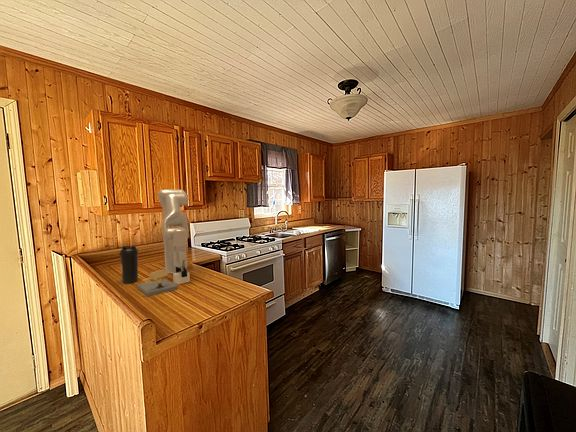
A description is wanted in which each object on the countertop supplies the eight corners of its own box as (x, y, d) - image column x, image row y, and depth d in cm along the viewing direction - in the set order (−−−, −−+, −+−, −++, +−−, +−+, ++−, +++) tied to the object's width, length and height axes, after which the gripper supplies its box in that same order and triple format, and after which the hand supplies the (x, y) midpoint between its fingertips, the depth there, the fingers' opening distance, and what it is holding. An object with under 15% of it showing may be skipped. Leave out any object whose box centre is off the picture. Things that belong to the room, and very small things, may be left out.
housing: (165, 281, 164) (165, 278, 163) (177, 289, 149) (177, 285, 149) (137, 287, 152) (137, 284, 152) (147, 296, 138) (147, 292, 138)
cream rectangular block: (186, 279, 168) (185, 270, 167) (189, 281, 163) (189, 272, 163) (173, 282, 162) (173, 273, 162) (177, 284, 158) (176, 275, 157)
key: (142, 291, 139) (141, 274, 139) (165, 284, 152) (165, 268, 151) (145, 292, 138) (144, 275, 138) (168, 284, 150) (167, 269, 150)
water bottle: (123, 280, 168) (121, 245, 166) (140, 278, 171) (139, 244, 170) (119, 285, 158) (117, 248, 157) (137, 282, 162) (136, 246, 160)
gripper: (169, 247, 165) (170, 273, 166) (179, 251, 153) (180, 279, 154) (181, 246, 170) (182, 271, 171) (192, 249, 158) (193, 276, 159)
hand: (181, 275), depth 162 cm, fingers open, 9 cm apart
